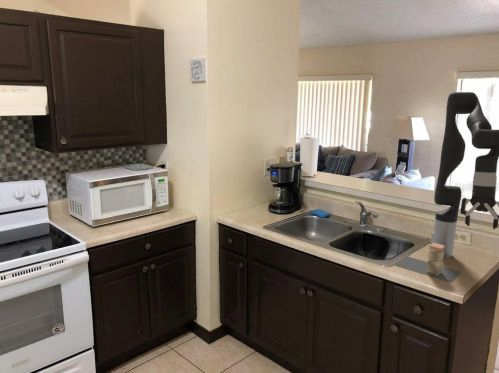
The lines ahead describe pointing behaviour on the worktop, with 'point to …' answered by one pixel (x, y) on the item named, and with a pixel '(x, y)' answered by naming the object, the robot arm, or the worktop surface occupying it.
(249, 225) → the worktop surface
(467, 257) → the worktop surface
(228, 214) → the worktop surface
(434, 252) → the birch block
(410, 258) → the rubber mat
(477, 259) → the worktop surface
